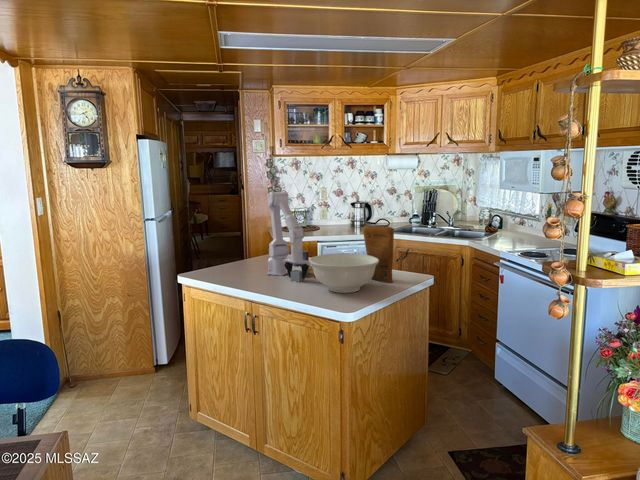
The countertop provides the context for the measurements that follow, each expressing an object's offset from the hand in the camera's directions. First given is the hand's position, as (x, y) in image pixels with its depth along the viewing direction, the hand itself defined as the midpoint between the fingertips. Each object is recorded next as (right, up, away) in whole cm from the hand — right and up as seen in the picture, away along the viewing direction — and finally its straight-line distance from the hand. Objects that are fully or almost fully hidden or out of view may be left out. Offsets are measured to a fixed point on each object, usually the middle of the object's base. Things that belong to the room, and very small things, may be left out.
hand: (297, 277), depth 241 cm
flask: (+1, +4, +35) cm, 35 cm away
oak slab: (+7, +2, +10) cm, 12 cm away
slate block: (0, -2, 0) cm, 2 cm away
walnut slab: (+7, 0, +10) cm, 12 cm away
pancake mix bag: (+42, -1, 0) cm, 42 cm away
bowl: (+23, -4, -17) cm, 29 cm away
